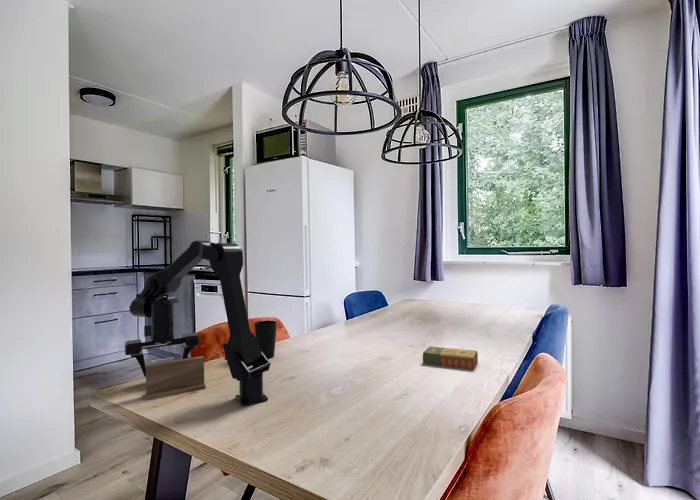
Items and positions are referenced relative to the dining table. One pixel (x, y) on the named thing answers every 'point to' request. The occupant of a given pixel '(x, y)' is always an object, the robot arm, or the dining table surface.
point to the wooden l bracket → (174, 377)
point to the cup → (266, 337)
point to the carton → (450, 357)
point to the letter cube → (162, 360)
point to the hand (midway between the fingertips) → (163, 373)
